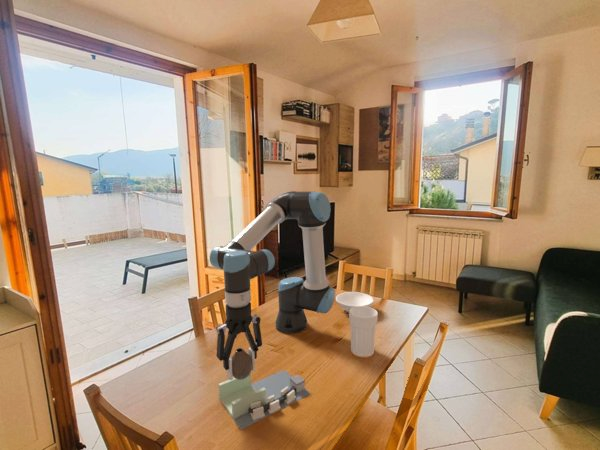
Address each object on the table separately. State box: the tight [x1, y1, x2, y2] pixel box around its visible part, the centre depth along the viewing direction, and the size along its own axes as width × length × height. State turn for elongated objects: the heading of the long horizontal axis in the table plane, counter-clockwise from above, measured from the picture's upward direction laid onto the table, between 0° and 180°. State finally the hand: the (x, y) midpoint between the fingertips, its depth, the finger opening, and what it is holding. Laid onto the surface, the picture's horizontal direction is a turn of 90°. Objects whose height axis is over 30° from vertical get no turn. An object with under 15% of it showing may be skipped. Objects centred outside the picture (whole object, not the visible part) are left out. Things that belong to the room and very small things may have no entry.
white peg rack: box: [250, 374, 306, 420], centre depth 100 cm, size 7×20×3 cm, turn 126°
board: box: [218, 369, 312, 431], centre depth 103 cm, size 16×25×1 cm, turn 126°
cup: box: [348, 306, 379, 360], centre depth 128 cm, size 11×11×17 cm
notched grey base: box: [249, 386, 296, 413], centre depth 100 cm, size 4×19×1 cm, turn 126°
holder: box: [218, 372, 266, 421], centre depth 100 cm, size 11×11×5 cm
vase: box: [230, 347, 252, 380], centre depth 99 cm, size 7×7×9 cm
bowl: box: [335, 291, 374, 313], centre depth 168 cm, size 20×20×7 cm
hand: (241, 373), depth 99 cm, fingers closed on vase, 7 cm apart
